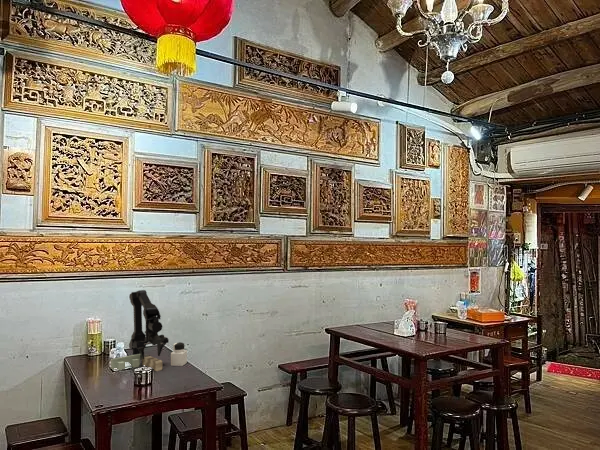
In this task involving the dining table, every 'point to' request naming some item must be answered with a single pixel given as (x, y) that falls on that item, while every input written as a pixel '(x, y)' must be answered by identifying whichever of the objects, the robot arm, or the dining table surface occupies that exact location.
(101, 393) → the dining table surface
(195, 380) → the dining table surface
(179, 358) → the medicine bottle
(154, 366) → the rail
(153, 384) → the dining table surface
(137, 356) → the grey block
